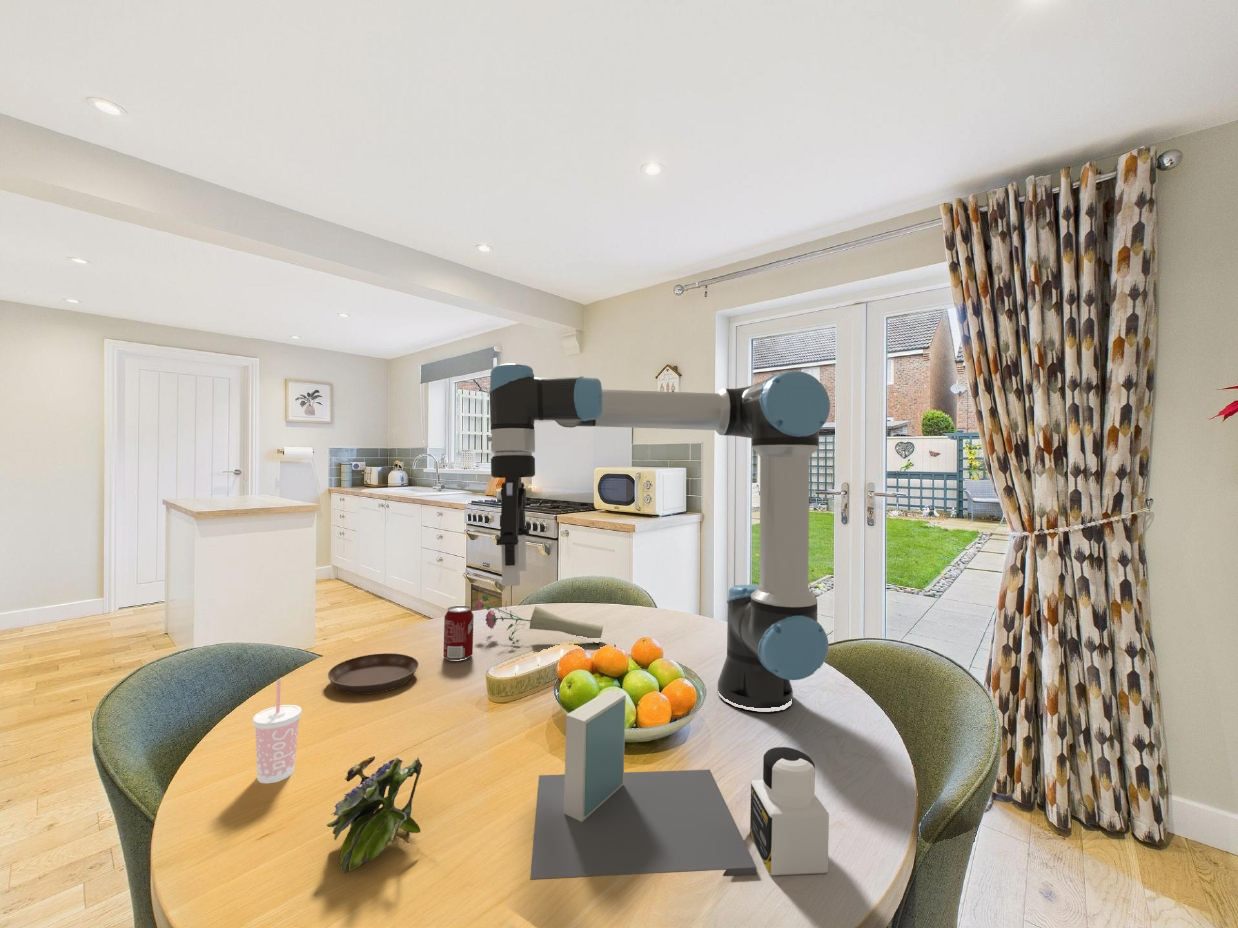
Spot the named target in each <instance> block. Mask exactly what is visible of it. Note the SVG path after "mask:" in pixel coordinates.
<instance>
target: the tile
mask: <svg viewBox="0 0 1238 928" xmlns="http://www.w3.org/2000/svg"><path fill="white" fill-rule="evenodd" d="M626 696H627V695H626V694H624V693H620V692H618V691H615V690H611V689H608V690H606V691H604V692H603V693H600V694H599V695H598V696H597V695H596V697H593V698H592V699H591V700H589V701H587V702H586V703H584V704H582V705H581V706H579V707H577V708H575V709H574V710H572V711H570V712H569V713H567V714H566V715H565V746H564V748H565V750H564V752H565V753H564V755H565V756H564V757H565V758H564V774H565V786H564V814H566V815H568V816H570V817H572V818H575V819H577V820H579V821H581V822H582V821H584V820H585V819H586V818H587V817H588V816H589V815H590V814H591V813H592V812H594V811H595V810H596V809H597V808H598V807H599V806H600V805H601V804H602V803H604V802H605V801H606V800H607V799H608V798H609V797H610V796H611V795H613V794H614V793H615V792H616V791H617V790H618V789H619V788H620V787H621V786H623V785H624V772H625V746H626V745H625V744H626V743H625V742H626V741H625V738H626V737H625V736H626V735H625V734H626V731H625V729H626V699H627V698H626Z"/></svg>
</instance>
